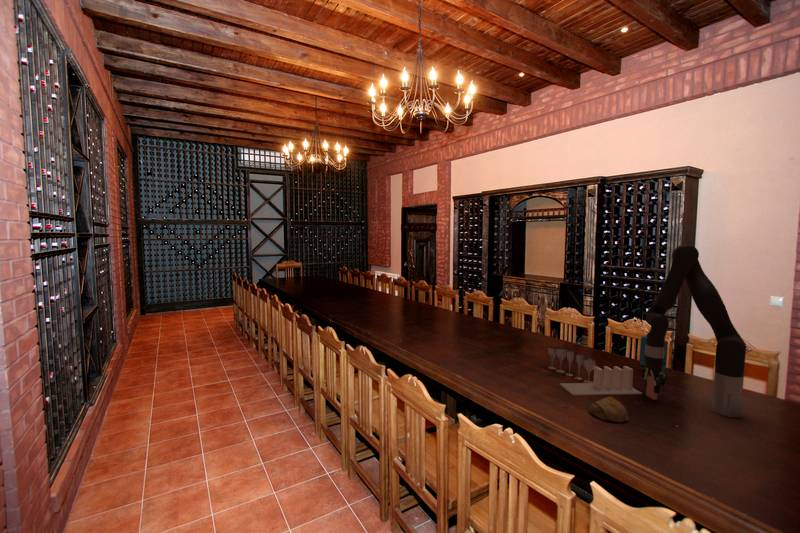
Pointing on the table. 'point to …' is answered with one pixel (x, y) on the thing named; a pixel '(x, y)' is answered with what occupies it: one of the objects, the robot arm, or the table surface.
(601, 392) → the grey rubber mat
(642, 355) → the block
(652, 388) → the terracotta domino
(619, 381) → the ivory domino
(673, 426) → the table surface
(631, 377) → the ivory domino
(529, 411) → the table surface
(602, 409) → the pastry
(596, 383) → the ivory domino
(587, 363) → the goblet set
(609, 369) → the ivory domino
